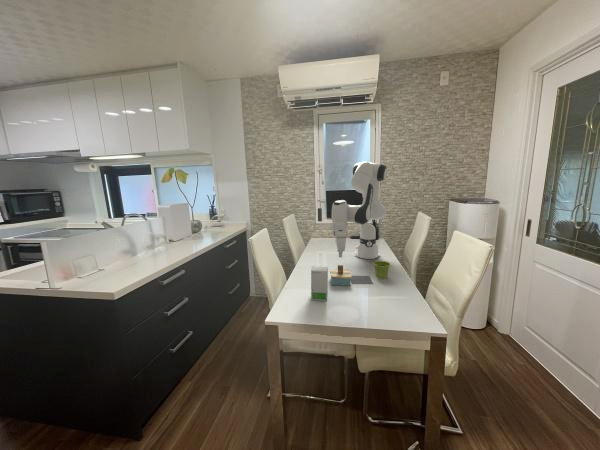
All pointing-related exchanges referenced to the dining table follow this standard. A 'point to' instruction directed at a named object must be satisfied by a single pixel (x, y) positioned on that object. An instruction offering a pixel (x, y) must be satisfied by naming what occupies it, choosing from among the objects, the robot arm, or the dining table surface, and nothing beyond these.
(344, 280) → the teal open box
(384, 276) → the plant pot
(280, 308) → the dining table surface
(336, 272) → the lid
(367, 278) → the mat
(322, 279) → the skincare box
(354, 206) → the robot arm
